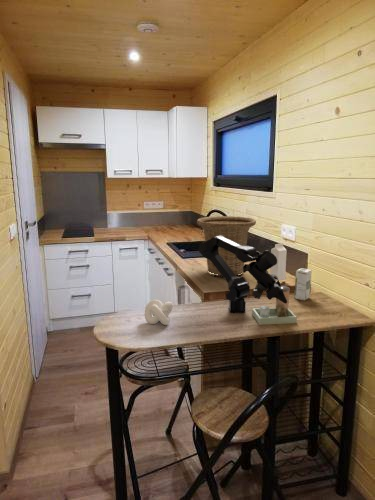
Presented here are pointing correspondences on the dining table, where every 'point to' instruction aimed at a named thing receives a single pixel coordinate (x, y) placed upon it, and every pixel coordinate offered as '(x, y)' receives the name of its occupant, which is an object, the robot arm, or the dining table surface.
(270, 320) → the tote
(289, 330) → the dining table surface
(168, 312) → the cream knot sculpture
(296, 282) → the syrup box
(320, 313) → the dining table surface
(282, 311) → the coffee tin
